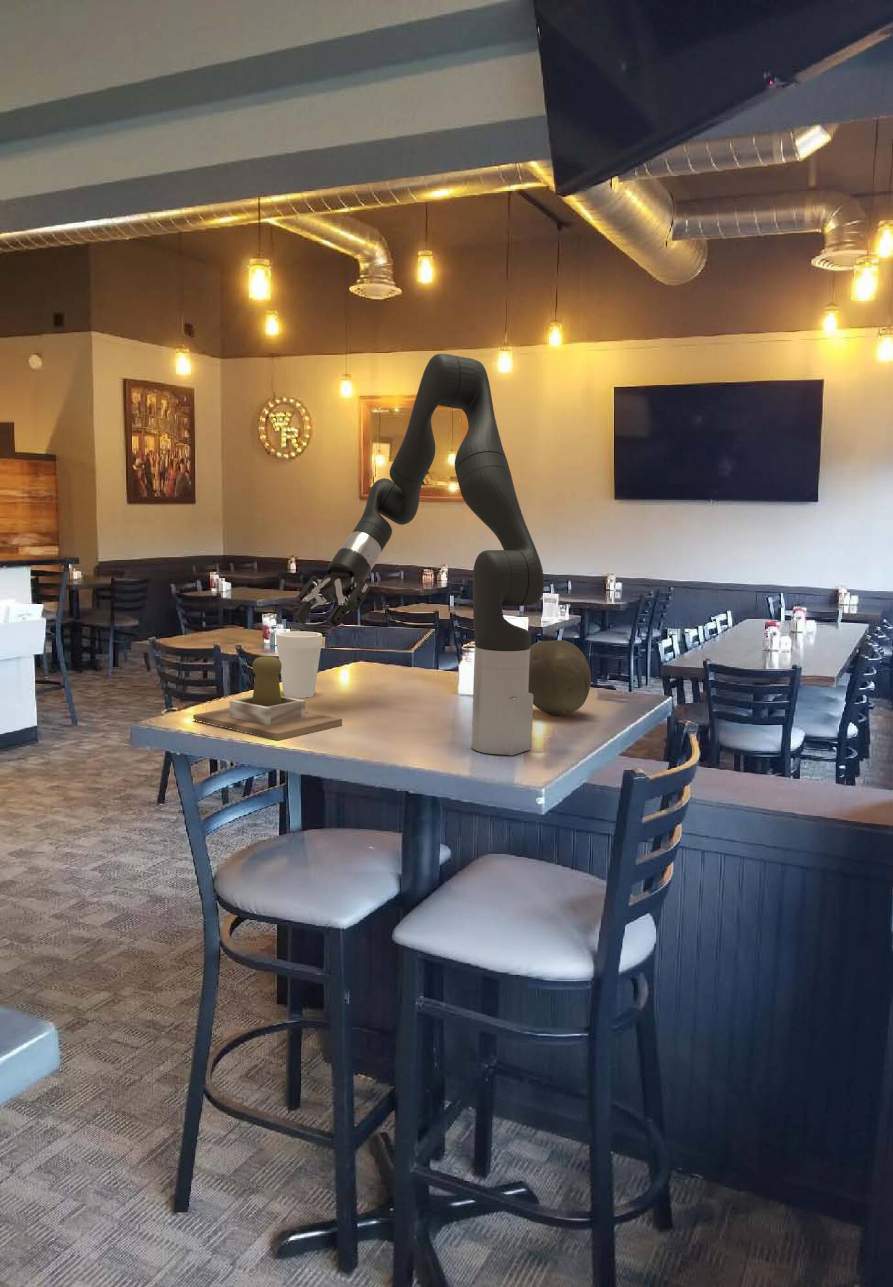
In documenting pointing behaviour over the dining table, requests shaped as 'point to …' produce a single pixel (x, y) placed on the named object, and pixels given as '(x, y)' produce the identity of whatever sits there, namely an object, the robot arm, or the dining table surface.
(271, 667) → the olive pepper mill
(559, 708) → the cantaloupe
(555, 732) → the dining table surface
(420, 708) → the dining table surface
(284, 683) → the foam cup
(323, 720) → the brown board with dish
